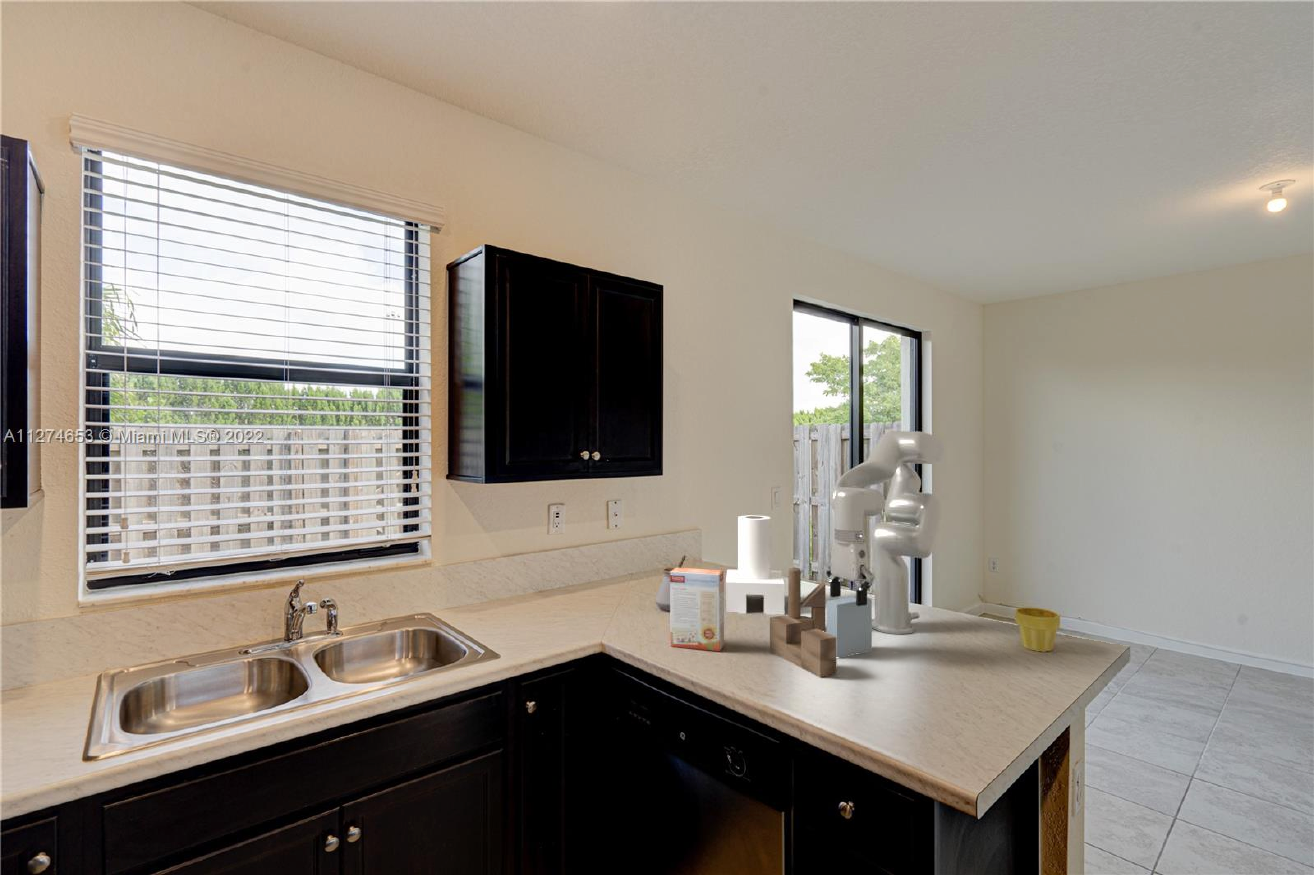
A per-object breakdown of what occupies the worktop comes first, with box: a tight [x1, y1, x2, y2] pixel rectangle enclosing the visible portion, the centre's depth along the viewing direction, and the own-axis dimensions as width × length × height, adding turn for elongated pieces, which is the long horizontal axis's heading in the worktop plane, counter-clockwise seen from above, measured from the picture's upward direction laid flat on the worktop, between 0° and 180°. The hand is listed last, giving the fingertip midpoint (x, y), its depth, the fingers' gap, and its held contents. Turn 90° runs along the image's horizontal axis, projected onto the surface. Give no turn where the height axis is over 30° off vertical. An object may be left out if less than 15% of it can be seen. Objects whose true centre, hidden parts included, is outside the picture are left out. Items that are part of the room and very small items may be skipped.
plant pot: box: [1014, 606, 1061, 653], centre depth 167 cm, size 10×10×10 cm
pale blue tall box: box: [826, 595, 873, 658], centre depth 164 cm, size 12×4×14 cm, turn 116°
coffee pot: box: [654, 554, 689, 612], centre depth 210 cm, size 21×12×15 cm, turn 160°
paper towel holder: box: [725, 514, 785, 615], centre depth 208 cm, size 19×19×30 cm
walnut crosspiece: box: [769, 614, 837, 678], centre depth 157 cm, size 5×20×9 cm, turn 26°
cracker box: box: [669, 567, 725, 652], centre depth 169 cm, size 14×6×21 cm, turn 71°
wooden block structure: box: [787, 567, 826, 632], centre depth 183 cm, size 4×11×18 cm, turn 86°
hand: (848, 600), depth 163 cm, fingers open, 9 cm apart
